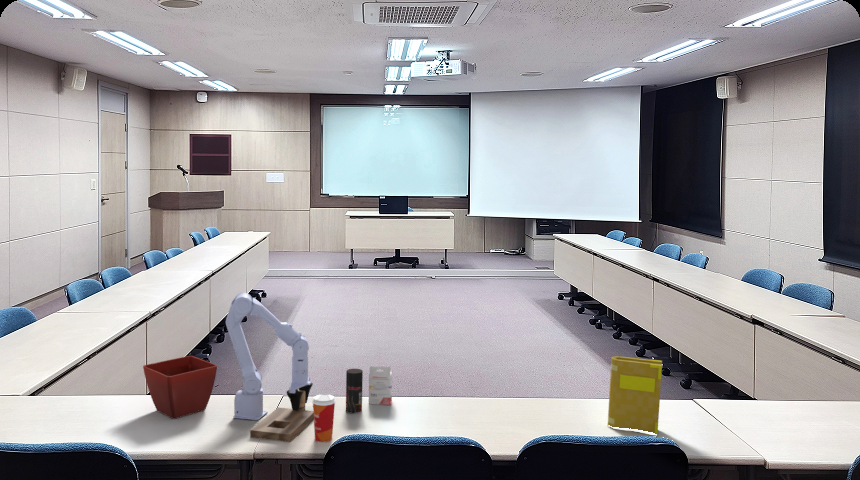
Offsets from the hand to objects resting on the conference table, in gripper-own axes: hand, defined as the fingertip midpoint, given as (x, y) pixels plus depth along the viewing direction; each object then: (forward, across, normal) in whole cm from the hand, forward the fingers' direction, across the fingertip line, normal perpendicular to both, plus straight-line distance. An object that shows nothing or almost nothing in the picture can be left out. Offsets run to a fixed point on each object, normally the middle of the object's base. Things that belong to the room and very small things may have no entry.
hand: (299, 406), depth 244 cm
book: (+3, +17, -118) cm, 119 cm away
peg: (+3, 0, 0) cm, 3 cm away
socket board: (+2, -14, 0) cm, 14 cm away
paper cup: (+3, -20, -16) cm, 26 cm away
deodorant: (+3, +8, -18) cm, 20 cm away
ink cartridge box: (+3, +19, -25) cm, 32 cm away
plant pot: (+3, -9, +42) cm, 43 cm away
